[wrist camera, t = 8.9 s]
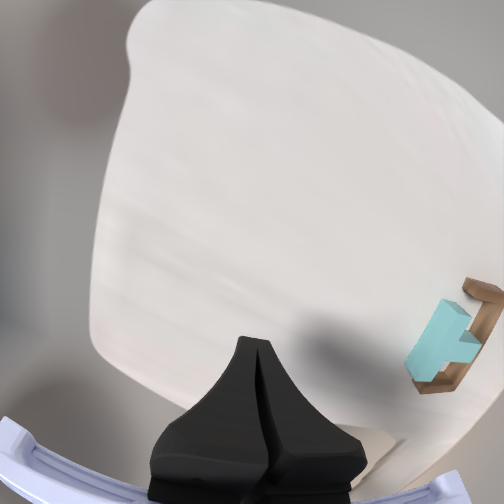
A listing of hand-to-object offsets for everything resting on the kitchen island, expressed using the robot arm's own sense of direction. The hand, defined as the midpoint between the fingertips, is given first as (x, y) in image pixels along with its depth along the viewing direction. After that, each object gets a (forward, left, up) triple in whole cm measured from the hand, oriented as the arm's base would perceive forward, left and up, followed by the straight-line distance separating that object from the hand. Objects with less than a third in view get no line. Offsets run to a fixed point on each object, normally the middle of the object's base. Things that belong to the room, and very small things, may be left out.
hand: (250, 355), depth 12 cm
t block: (-3, -22, -10) cm, 25 cm away
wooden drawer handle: (-3, -24, -10) cm, 26 cm away
